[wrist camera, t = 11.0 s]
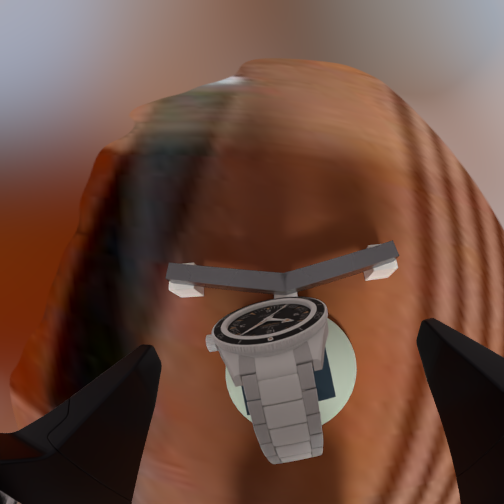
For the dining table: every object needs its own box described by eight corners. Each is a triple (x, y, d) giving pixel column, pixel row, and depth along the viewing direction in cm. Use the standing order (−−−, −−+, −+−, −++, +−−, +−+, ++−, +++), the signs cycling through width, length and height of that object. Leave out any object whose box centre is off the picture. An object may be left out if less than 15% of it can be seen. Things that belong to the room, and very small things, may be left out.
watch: (310, 309, 19) (332, 257, 9) (333, 412, 16) (377, 467, 6) (236, 326, 20) (180, 291, 10) (257, 428, 17) (220, 496, 6)
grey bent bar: (390, 246, 18) (395, 240, 17) (397, 281, 17) (403, 276, 16) (172, 268, 20) (166, 262, 19) (171, 303, 19) (164, 299, 18)
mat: (343, 435, 16) (344, 437, 15) (218, 420, 18) (216, 421, 17) (360, 315, 19) (362, 314, 19) (238, 302, 21) (236, 301, 20)
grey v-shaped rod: (382, 254, 21) (392, 242, 18) (390, 292, 20) (401, 283, 17) (181, 274, 23) (169, 264, 20) (181, 311, 21) (168, 305, 19)
